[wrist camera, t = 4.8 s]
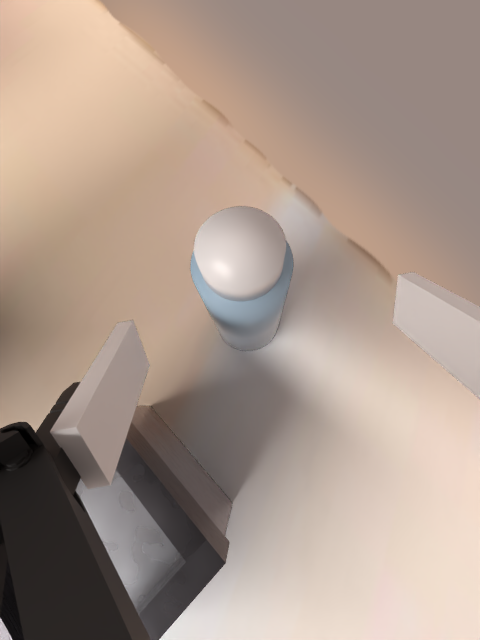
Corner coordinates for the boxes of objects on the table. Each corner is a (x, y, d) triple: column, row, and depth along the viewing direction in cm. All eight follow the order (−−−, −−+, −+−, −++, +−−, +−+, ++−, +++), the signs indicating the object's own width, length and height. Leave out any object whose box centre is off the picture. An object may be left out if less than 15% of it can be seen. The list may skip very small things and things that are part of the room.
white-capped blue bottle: (204, 320, 24) (159, 247, 13) (247, 280, 25) (240, 178, 14) (247, 364, 23) (238, 324, 12) (291, 320, 24) (322, 243, 12)
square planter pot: (49, 498, 21) (-71, 553, 13) (150, 402, 22) (95, 400, 15) (131, 619, 18) (43, 771, 11) (236, 503, 20) (225, 563, 12)
